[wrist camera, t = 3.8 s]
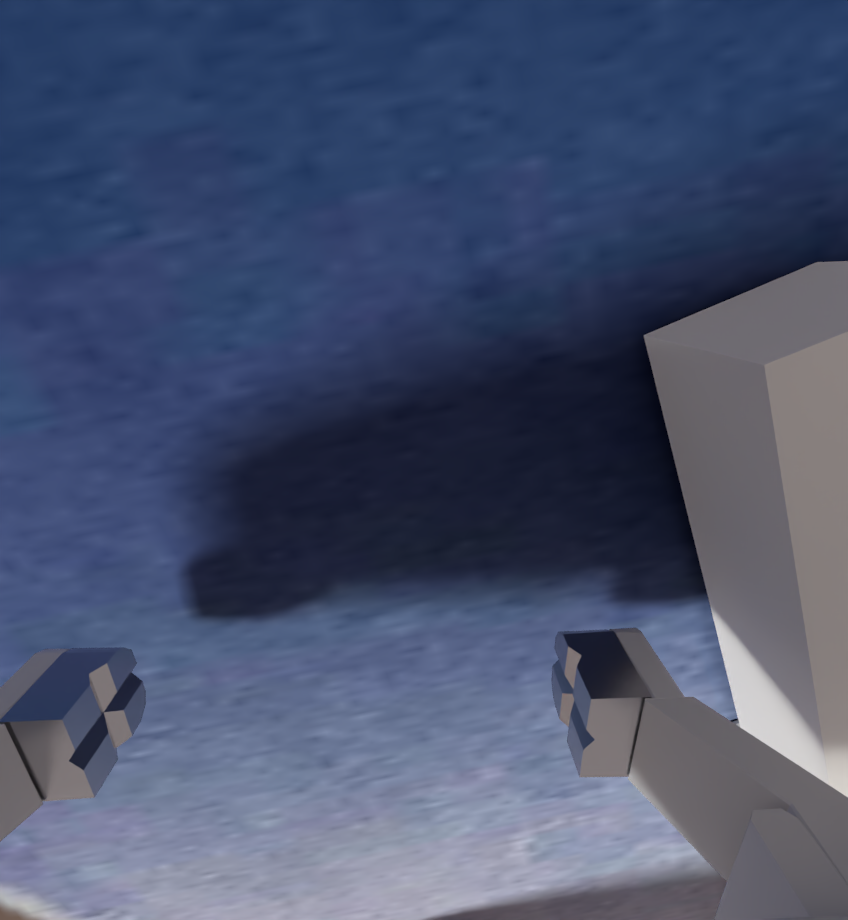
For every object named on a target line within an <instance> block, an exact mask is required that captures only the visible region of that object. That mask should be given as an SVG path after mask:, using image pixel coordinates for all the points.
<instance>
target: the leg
mask: <svg viewBox="0 0 848 920" xmlns="http://www.w3.org/2000/svg"><path fill="white" fill-rule="evenodd" d="M644 340H645V344H646V348H647V352H648V356H649V360H650V364H651V368H652V372H653V376H654V380H655V384H656V388H657V392H658V396H659V400H660V404H661V408H662V412H663V417H664V421H665V425H666V429H667V433H668V437H669V441H670V445H671V449H672V453H673V457H674V461H675V465H676V469H677V473H678V477H679V481H680V485H681V489H682V493H683V498H684V502H685V506H686V510H687V514H688V518H689V522H690V526H691V530H692V534H693V538H694V542H695V546H696V550H697V554H698V558H699V562H700V566H701V570H702V575H703V579H704V583H705V587H706V591H707V595H708V599H709V603H710V607H711V611H712V615H713V619H714V623H715V627H716V631H717V635H718V639H719V643H720V647H721V652H722V656H723V660H724V664H725V668H726V672H727V676H728V680H729V684H730V688H731V692H732V696H733V700H734V704H735V708H736V712H737V716H738V720H739V724H740V728H742V729H743V730H745V731H746V732H748V733H750V734H751V735H753V736H754V737H756V738H757V739H759V740H760V741H762V742H763V743H765V744H766V745H768V746H770V747H771V748H773V749H774V750H776V751H777V752H779V753H780V754H782V755H783V756H785V757H786V758H788V759H789V760H791V761H793V762H794V763H796V764H797V765H799V766H800V767H802V768H803V769H805V770H806V771H808V772H809V773H811V774H813V775H814V776H816V777H817V778H819V779H820V780H822V781H823V782H825V783H826V784H828V785H829V786H831V787H833V788H834V789H836V790H837V791H839V792H840V793H842V794H843V795H845V796H846V797H848V261H834V262H816V263H814V264H811V265H809V266H806V267H804V268H802V269H799V270H797V271H795V272H792V273H790V274H787V275H785V276H783V277H780V278H778V279H776V280H773V281H771V282H769V283H766V284H764V285H761V286H759V287H757V288H754V289H752V290H750V291H747V292H745V293H742V294H740V295H738V296H735V297H733V298H731V299H728V300H726V301H723V302H721V303H719V304H716V305H714V306H712V307H709V308H707V309H705V310H702V311H700V312H697V313H695V314H693V315H690V316H688V317H686V318H683V319H681V320H678V321H676V322H674V323H671V324H669V325H667V326H664V327H662V328H659V329H657V330H655V331H652V332H650V333H648V334H645V335H644Z"/></svg>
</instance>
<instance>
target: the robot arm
mask: <svg viewBox="0 0 848 920" xmlns="http://www.w3.org/2000/svg"><path fill="white" fill-rule="evenodd" d="M554 648H555V651H556V654H557V656H558V659H559V660H558V661H557V662H556V663H555V664H554V665H553V666H552V691H553V698H554V702H555V707H556V710H557V713H558V716H559V719H560V720H561V721H562V722H564V723H565V724H566V725H567V726H568V727H569V729H568V737H567V743H568V745H569V748H570V751H571V754H572V757H573V760H574V763H575V765H576V768H577V771H578V774H579V777H629V778H628V780H629V781H630V782H631V783H632V784H633V785H634V786H635V787H636V788H637V789H638V790H639V791H640V792H641V793H642V794H643V795H644V796H645V797H646V798H647V799H648V800H649V801H650V802H651V803H652V804H653V805H654V807H655V808H656V809H657V810H658V811H659V812H660V813H661V814H662V815H663V816H664V817H665V818H666V819H667V820H668V821H669V822H670V823H671V824H672V825H673V826H674V827H675V828H676V829H677V830H678V831H679V833H680V834H681V835H682V836H683V837H684V838H685V839H686V840H687V841H688V842H689V843H690V844H691V845H692V846H693V847H694V848H695V849H696V850H697V851H698V852H699V853H700V854H701V855H702V856H703V857H704V858H705V860H706V861H707V862H708V863H709V864H710V865H711V866H712V867H713V868H714V869H715V870H716V871H717V872H718V873H719V874H720V875H721V876H722V877H723V878H724V879H725V880H726V881H727V884H726V887H725V890H724V892H723V895H722V898H721V901H720V904H719V907H718V909H717V912H716V915H715V918H714V920H848V797H846V796H845V795H843V794H842V793H840V792H839V791H837V790H836V789H834V788H833V787H831V786H829V785H828V784H826V783H825V782H823V781H822V780H820V779H819V778H817V777H816V776H814V775H813V774H811V773H809V772H808V771H806V770H805V769H803V768H802V767H800V766H799V765H797V764H796V763H794V762H793V761H791V760H789V759H788V758H786V757H785V756H783V755H782V754H780V753H779V752H777V751H776V750H774V749H773V748H771V747H770V746H768V745H766V744H765V743H763V742H762V741H760V740H759V739H757V738H756V737H754V736H753V735H751V734H750V733H748V732H746V731H745V730H743V729H742V728H740V727H739V726H737V725H736V724H734V723H733V722H731V721H730V720H728V719H726V718H725V717H723V716H722V715H720V714H719V713H717V712H716V711H714V710H713V709H711V708H710V707H708V706H706V705H705V704H703V703H702V702H700V701H699V700H697V699H696V698H694V697H684V695H683V694H682V692H681V691H680V689H679V688H678V686H677V685H676V683H675V682H674V680H673V679H672V677H671V676H670V674H669V673H668V671H667V670H666V668H665V667H664V665H663V664H662V662H661V661H660V659H659V658H658V656H657V655H656V653H655V652H654V650H653V649H652V647H651V646H650V644H649V643H648V641H647V640H646V638H645V637H644V635H643V634H642V632H641V631H640V630H638V629H637V628H621V629H610V630H586V631H564V632H558V633H557V635H556V638H555V647H554ZM136 664H137V662H136V660H135V657H134V655H133V652H132V650H131V649H127V648H72V649H45V650H42V651H40V652H38V653H35V654H34V655H33V656H32V657H31V658H30V659H29V660H28V661H27V662H26V663H25V664H24V665H23V666H22V667H21V668H20V669H19V670H18V671H17V672H16V673H15V674H14V675H13V676H12V677H11V678H10V679H9V680H8V681H7V682H6V683H5V684H4V685H3V686H2V687H1V688H0V841H1V840H3V839H4V838H5V837H6V836H7V835H8V834H9V833H11V832H12V831H13V830H14V829H15V828H16V827H17V826H19V825H20V824H21V823H22V822H23V821H24V820H25V819H27V818H28V817H29V816H30V815H31V814H32V813H34V812H35V811H36V810H37V809H38V808H39V807H40V806H42V804H43V802H42V801H53V800H67V799H81V798H94V797H95V796H96V794H97V793H98V791H99V790H100V788H101V786H102V785H103V783H104V781H105V780H106V778H107V776H108V775H109V773H110V772H111V770H112V768H113V767H114V765H115V763H116V762H117V760H118V756H117V747H118V746H120V745H121V744H122V743H124V742H125V741H126V740H128V739H129V738H130V737H131V736H132V735H133V734H134V732H135V730H136V729H137V727H138V725H139V723H140V722H141V719H142V715H143V712H144V708H145V705H146V691H145V688H144V685H143V681H142V680H140V679H139V678H138V677H137V676H135V675H134V674H133V673H132V671H133V669H134V667H135V666H136Z"/></svg>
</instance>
